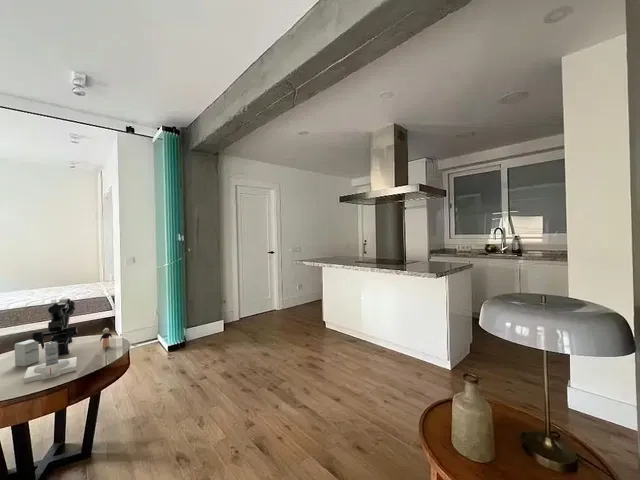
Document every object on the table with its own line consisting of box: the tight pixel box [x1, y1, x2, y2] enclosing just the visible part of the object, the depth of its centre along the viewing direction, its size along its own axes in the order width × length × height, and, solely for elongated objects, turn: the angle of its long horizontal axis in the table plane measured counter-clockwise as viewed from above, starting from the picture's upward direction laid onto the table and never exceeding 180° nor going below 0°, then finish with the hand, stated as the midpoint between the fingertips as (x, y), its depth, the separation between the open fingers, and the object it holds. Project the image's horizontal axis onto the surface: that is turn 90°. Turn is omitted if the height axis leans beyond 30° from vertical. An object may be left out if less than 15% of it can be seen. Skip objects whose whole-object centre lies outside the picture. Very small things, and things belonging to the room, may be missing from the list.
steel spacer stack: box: [44, 341, 59, 366], centre depth 155 cm, size 5×5×12 cm
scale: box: [23, 356, 78, 384], centre depth 155 cm, size 18×20×6 cm
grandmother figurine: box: [99, 327, 113, 350], centre depth 188 cm, size 8×4×13 cm, turn 170°
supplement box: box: [14, 339, 40, 367], centre depth 166 cm, size 7×7×13 cm
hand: (54, 346), depth 160 cm, fingers open, 9 cm apart
